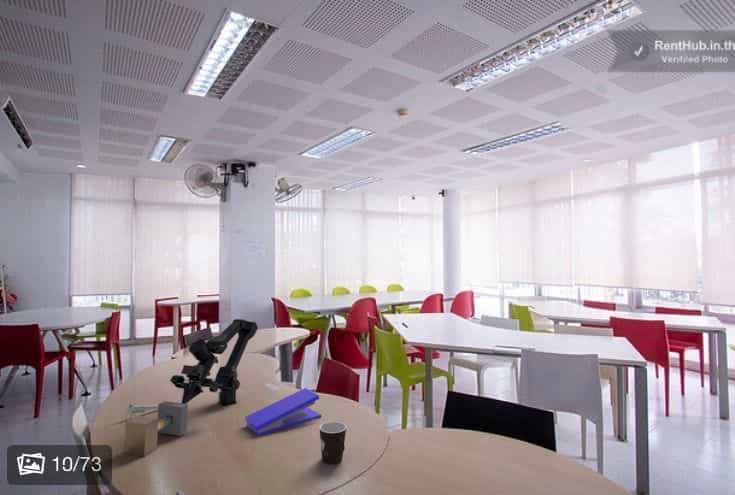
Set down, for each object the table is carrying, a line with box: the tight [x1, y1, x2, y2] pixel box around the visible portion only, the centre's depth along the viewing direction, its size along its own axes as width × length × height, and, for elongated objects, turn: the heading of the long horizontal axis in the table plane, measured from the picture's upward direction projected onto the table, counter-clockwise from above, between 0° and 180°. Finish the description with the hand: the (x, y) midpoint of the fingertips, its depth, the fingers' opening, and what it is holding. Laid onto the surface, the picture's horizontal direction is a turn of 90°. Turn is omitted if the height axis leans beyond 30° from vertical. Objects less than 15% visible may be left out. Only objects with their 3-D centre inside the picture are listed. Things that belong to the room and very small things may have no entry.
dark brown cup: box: [318, 421, 347, 465], centre depth 118 cm, size 12×9×10 cm
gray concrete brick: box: [157, 400, 189, 437], centre depth 136 cm, size 3×10×10 cm, turn 76°
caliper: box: [125, 403, 158, 422], centre depth 155 cm, size 20×1×6 cm, turn 151°
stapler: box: [244, 388, 322, 437], centre depth 148 cm, size 12×28×10 cm, turn 131°
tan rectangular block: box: [123, 415, 173, 457], centre depth 128 cm, size 16×8×10 cm, turn 166°
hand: (182, 404), depth 141 cm, fingers closed
